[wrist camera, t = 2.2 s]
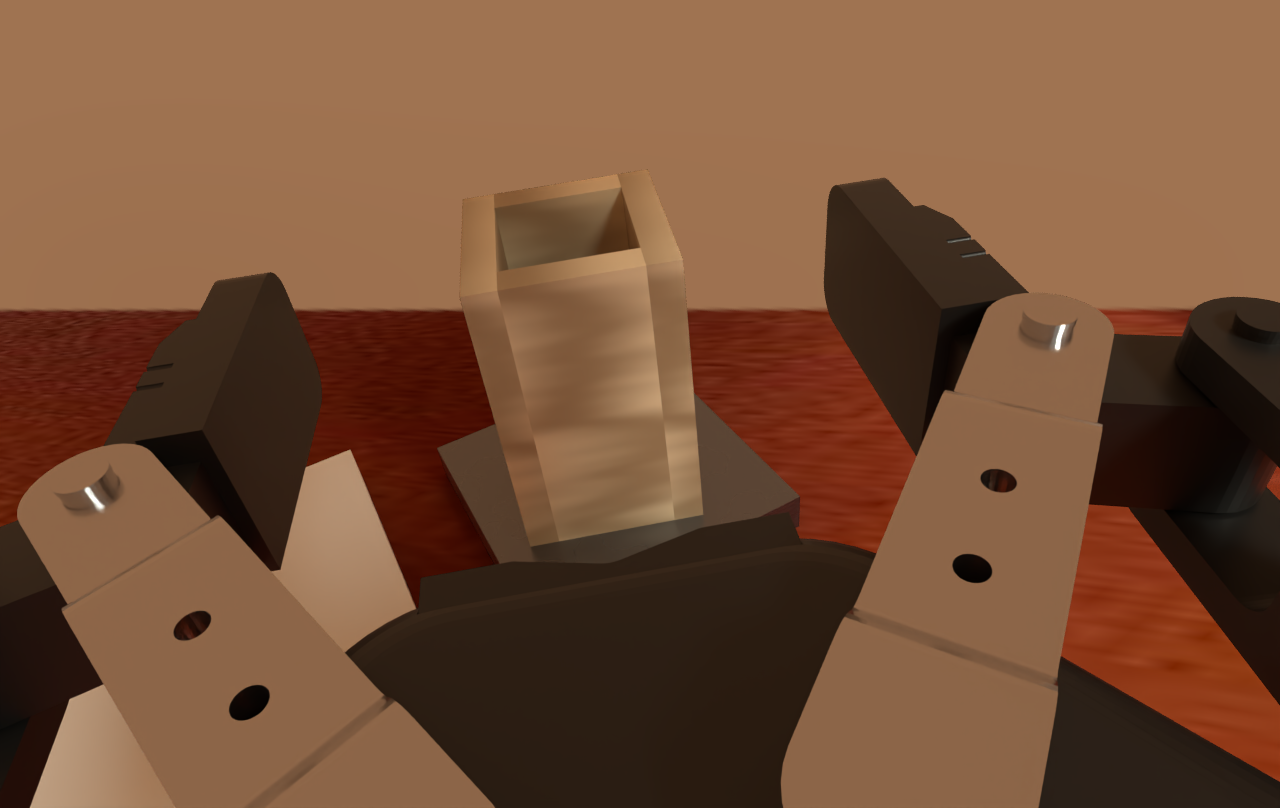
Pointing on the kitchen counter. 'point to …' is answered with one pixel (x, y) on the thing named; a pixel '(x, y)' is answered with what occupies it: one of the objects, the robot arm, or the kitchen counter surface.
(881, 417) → the kitchen counter surface
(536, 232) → the sleeve
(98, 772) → the board
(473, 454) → the stand
